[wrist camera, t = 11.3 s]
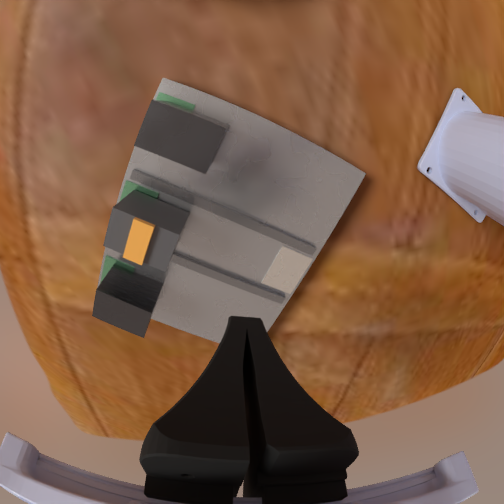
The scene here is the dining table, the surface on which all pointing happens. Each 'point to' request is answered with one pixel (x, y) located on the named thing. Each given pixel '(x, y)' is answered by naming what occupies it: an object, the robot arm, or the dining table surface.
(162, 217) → the breaker
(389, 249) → the dining table surface
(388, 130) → the dining table surface
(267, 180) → the panel
